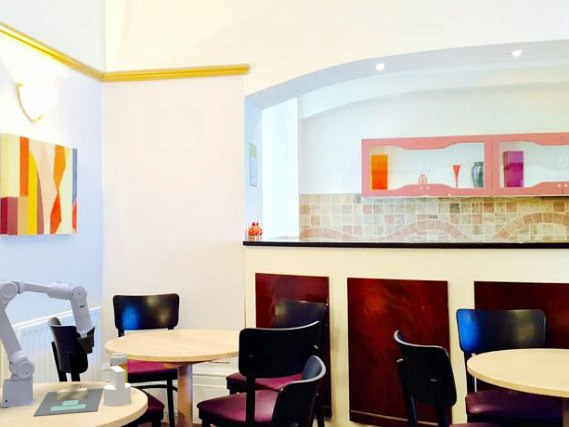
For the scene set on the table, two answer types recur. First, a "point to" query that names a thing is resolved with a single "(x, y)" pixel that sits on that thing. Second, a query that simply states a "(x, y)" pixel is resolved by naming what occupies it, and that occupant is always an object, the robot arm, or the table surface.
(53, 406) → the mat
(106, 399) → the cylinder with rectangular tab
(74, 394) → the t block
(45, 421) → the table surface
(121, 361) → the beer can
